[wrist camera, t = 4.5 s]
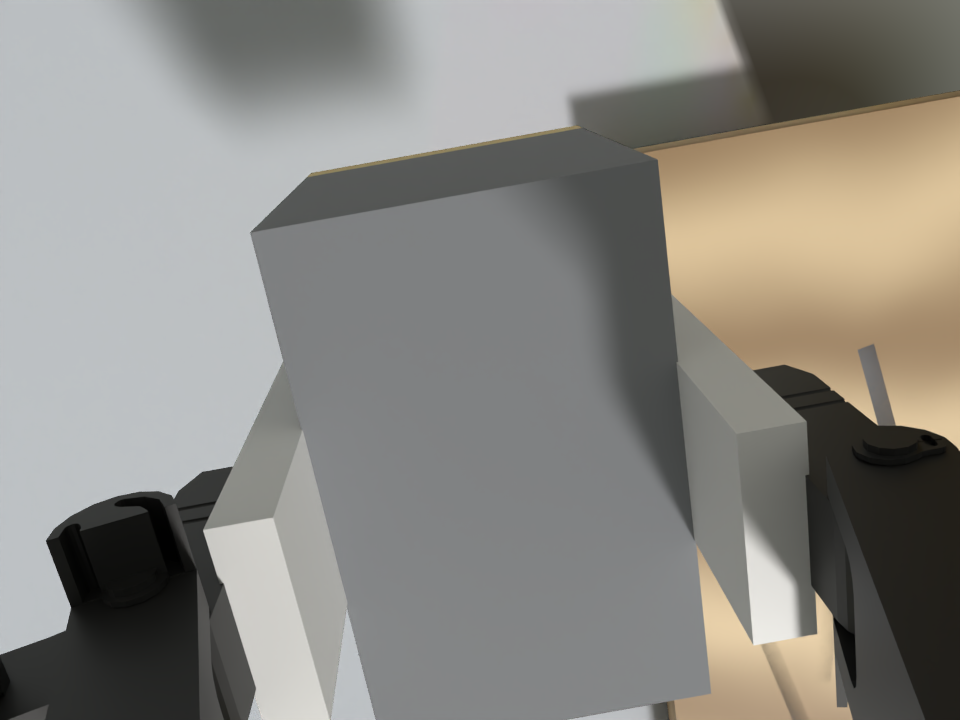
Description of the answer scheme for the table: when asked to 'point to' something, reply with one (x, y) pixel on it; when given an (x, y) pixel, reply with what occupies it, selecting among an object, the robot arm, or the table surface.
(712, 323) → the board
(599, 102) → the table surface
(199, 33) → the table surface
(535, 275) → the block
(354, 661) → the table surface
